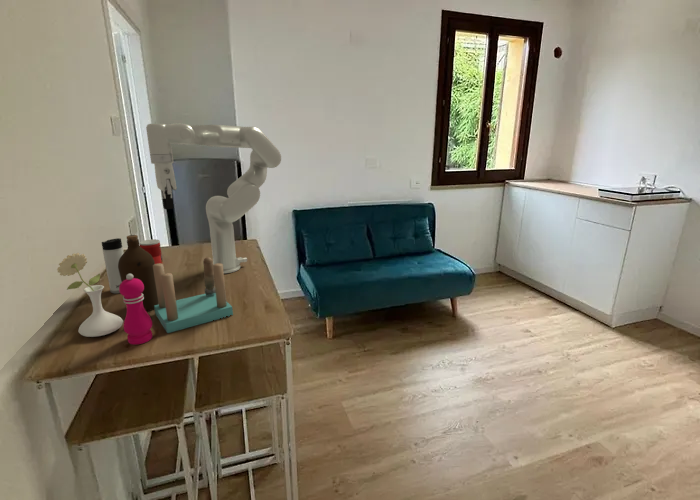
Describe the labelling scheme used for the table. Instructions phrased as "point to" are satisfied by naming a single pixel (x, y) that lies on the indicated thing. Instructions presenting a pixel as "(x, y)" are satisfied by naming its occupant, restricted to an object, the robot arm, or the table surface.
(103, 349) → the table surface
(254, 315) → the table surface
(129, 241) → the olive oil
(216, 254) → the robot arm
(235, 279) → the table surface
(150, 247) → the canned food
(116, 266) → the travel mug
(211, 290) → the hinged leg
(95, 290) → the flower in vase
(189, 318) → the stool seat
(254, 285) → the table surface
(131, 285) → the pepper mill
